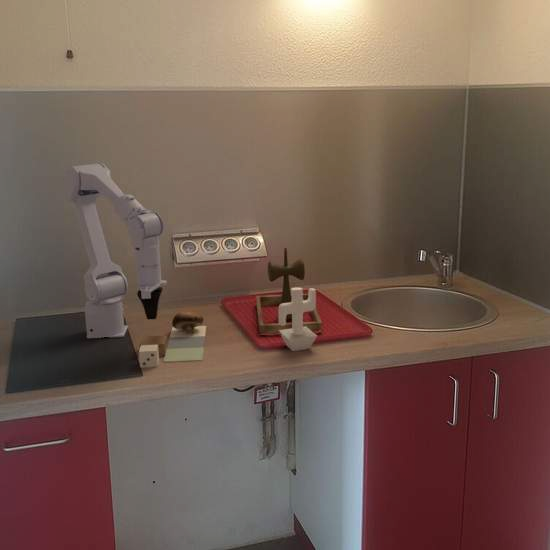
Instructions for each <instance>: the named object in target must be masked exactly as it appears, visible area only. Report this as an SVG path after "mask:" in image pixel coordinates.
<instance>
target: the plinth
mask: <svg viewBox="0 0 550 550" xmlns="http://www.w3.org/2000/svg"><path fill="white" fill-rule="evenodd" d="M140 339H141V340H140V342H139V344H138V347H139V349H140V346H141V345H158V351H159V357H165V354H166V350H167V346H168V335H147V336H146V335H145V336H143V335H142V336H141V338H140Z"/></svg>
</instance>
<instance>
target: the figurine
mask: <svg viewBox="0 0 550 550" xmlns="http://www.w3.org/2000/svg"><path fill="white" fill-rule="evenodd" d="M290 291H291V296H292V301H291V302H290V303H282V304H280V305H278V312H277V313H278V314H277V317H278V316H279V318H278V323H279V325H281V326H285V325H286V323H287V320H286V315H287V314H292V319H291V323H292V328H291V329H284V330H279V332H280V334H281V335H280V337H282V340H283V341H284V343H286V344H285V345H286V346H287V348H288V349H290V350H291V352H297V351H298V352H299V351H303V350H308V349H309V350H310V348H311V347H312V346H313V344H314V342H315V340H316V339H317V337H318V335H317V333H313V332H312V331H311V330H310V329H308V328H307V327H306V326H305V327H303V322H304V317H303V315H304V313H307V312H310V311H313V310H314V309H315V307H316V306H317V304H316V303H317V292H316V289H315V288H312V287H311V288H309V289H308V293H307V294H308V300H305V301H303V294H304V290H303V287H292V288H290ZM316 308H317V307H316Z"/></svg>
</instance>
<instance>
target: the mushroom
mask: <svg viewBox="0 0 550 550" xmlns="http://www.w3.org/2000/svg"><path fill="white" fill-rule="evenodd" d="M203 322H204V316H203V315H202V314H200V313H198V312H196V311H192V310H184V311H180V312H178V313H177V314H176V315H175V316H174V317H173V318H172V322H171V323H172V324H171V325H172V327H174V328H175V329H182V330H183V331H184V332H186V333H195V332H194V328H195V327H197V326H202V324H203Z"/></svg>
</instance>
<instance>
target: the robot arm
mask: <svg viewBox="0 0 550 550" xmlns="http://www.w3.org/2000/svg"><path fill="white" fill-rule="evenodd" d="M63 182H64V183H63V184H64V187H65V190H66V194H67V196H68V200H69V201H70V202H72V203H73V208H74V211H75V214H76V219H77V220H78V221H77V222H78V224H79V225H78V226H79V229H80V232H81V236H82V240H83V243H84V246H85V250H86V254H87V257H88V261H89V264H90V267H89V268H88V270H86V272H85V273H84V275H83V281H84V293H85V296H86V298H87V299H88V301H86V302H85V306H84V316H85V317H84V318H85V327H86V328H85V329H86V338H87V339H102V337H103V339H104V337H109V338H124V336H125V334H126V333H127V330H128V327H129V325H127V324H126V325H125V320H124V319H125V318H124V308H123V307H124V306H123V300H125V295H126V294H127V293H128V291H129V285H128V284H129V283H128V280H127V278H126V276H125V274H124V273H123V271H122V267H121V265H118V264H116V263H115V262H113V261H112V260H111V258H110V253H109V250H108V245H107V242H106V239H105V235H104V232H103V228H102V225H101V221H100V218H99V217H100V216H99V214H98V210H97V207H96V201H97V199H99V198H100V197H101V196H103V197H104V198H105V199H107V201H109V202H110V203H111V204H112V205H113V212H114V213H115V214H116V215H117V217H118V218H120V219H121V220H122V222H123V223H124V224H126V226H127V230H128V234H129V236H130V238H131V244H132V246H133V247H134V257H135V269H136V270H135V271H136V272H135V273H136V282H135V283H136V284H135V285H136V287H137V289H138V290H137V293H136V294H137V297H138V299H139V301H140V303H141V304H142V307H143V310H144V314H145V317H146V319H147V320H157V317H158V310H159V303H160V298H161V295H162V292H163V287H161V286H166V285H167V280H164V279H163V280H162V269H161V268H162V267H161V253H160V236H161V235H162V234H163V231H164V222H163V219H162V217H161V215H160V214H159V213H158V212H157V211H151V210H147V209H146V208H145V206H143V205H142V204H141V203H140V202H139V201H138V200H137V199H136V198H135V197H134V195H132V194H124V193H123V192H122V191H121V189H120V188H119V187H118V185H117V184H116V183H115V182H114V181H113V179H112V177H111V171H110V169H109V168H108V167H107V166H106V165H105V164H104V163H102V162H97V163H95V164H94V163H92V164H84V165H83V164H81V165H74V166H73V165H69V166H68V167H67V168H66V169H65V172H64V177H63ZM102 275H104V276H102Z"/></svg>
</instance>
